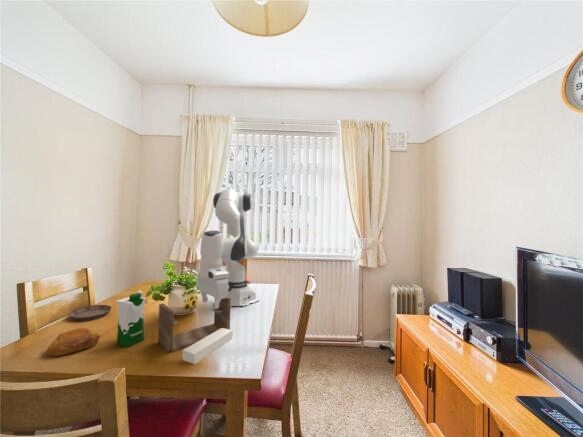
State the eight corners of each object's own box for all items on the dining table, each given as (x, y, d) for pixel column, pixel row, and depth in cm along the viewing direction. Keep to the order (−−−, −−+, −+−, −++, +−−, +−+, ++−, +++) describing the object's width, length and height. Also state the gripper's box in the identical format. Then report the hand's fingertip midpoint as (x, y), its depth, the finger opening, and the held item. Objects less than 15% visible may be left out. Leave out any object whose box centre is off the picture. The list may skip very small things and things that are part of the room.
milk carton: (127, 348, 101) (128, 298, 101) (112, 344, 104) (113, 295, 105) (147, 339, 109) (148, 292, 109) (132, 335, 113) (133, 290, 113)
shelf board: (221, 336, 114) (221, 327, 114) (232, 339, 112) (232, 330, 112) (182, 361, 94) (182, 350, 94) (194, 365, 92) (194, 354, 92)
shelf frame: (216, 324, 126) (217, 292, 126) (229, 332, 118) (230, 298, 118) (158, 342, 107) (159, 304, 107) (168, 353, 99) (169, 311, 99)
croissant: (99, 353, 102) (103, 332, 102) (45, 362, 91) (50, 339, 92) (94, 339, 112) (98, 320, 113) (46, 345, 102) (50, 325, 102)
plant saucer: (119, 312, 140) (119, 307, 140) (84, 325, 123) (84, 318, 123) (96, 308, 145) (96, 303, 145) (60, 319, 128) (60, 313, 128)
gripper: (192, 268, 108) (191, 300, 108) (216, 275, 94) (215, 313, 94) (206, 266, 113) (205, 297, 113) (231, 273, 98) (230, 309, 98)
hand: (210, 304), depth 103 cm, fingers open, 8 cm apart
